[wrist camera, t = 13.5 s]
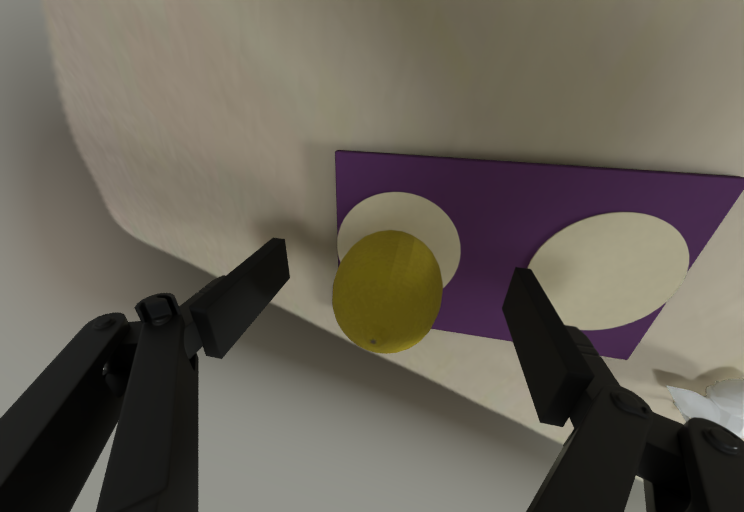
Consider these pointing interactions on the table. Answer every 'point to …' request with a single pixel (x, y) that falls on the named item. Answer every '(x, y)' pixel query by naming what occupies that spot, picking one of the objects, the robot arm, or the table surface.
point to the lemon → (387, 291)
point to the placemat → (539, 234)
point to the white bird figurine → (714, 404)
